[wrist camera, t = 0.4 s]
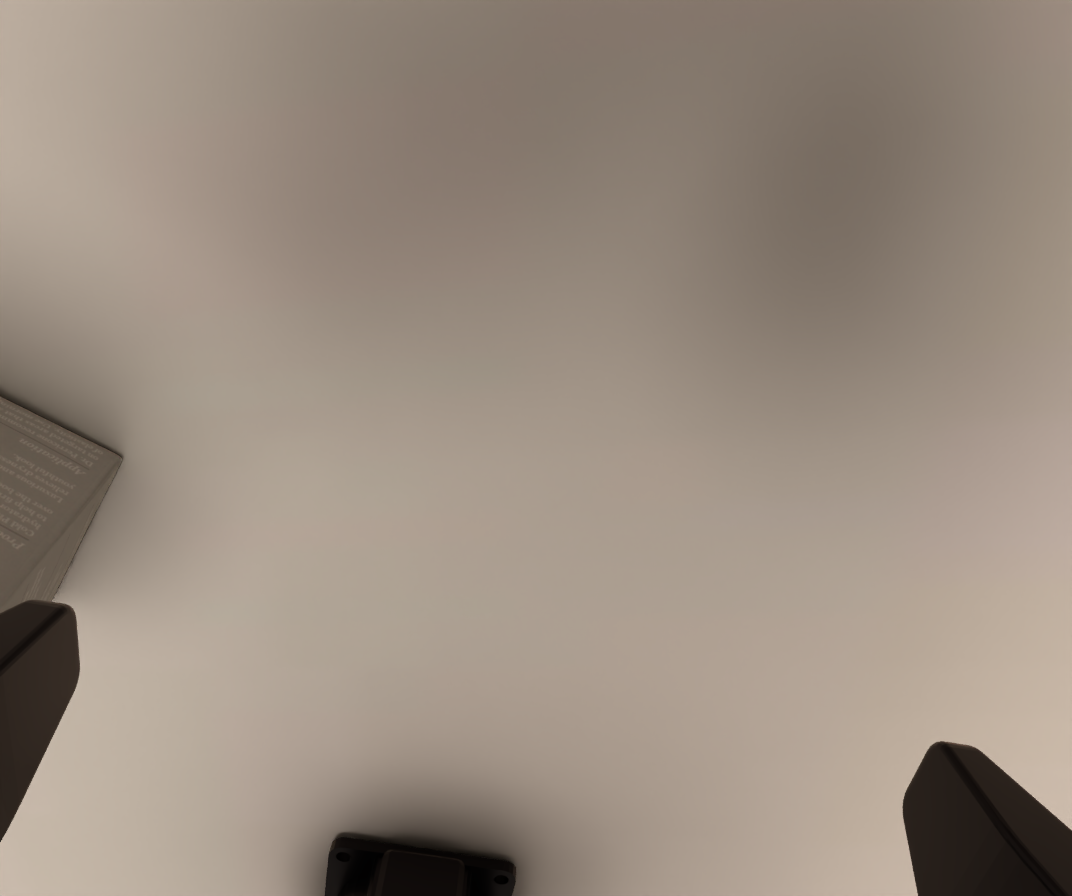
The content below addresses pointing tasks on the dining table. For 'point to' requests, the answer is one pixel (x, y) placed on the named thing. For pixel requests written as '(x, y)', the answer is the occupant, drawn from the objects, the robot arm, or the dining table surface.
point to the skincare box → (44, 501)
